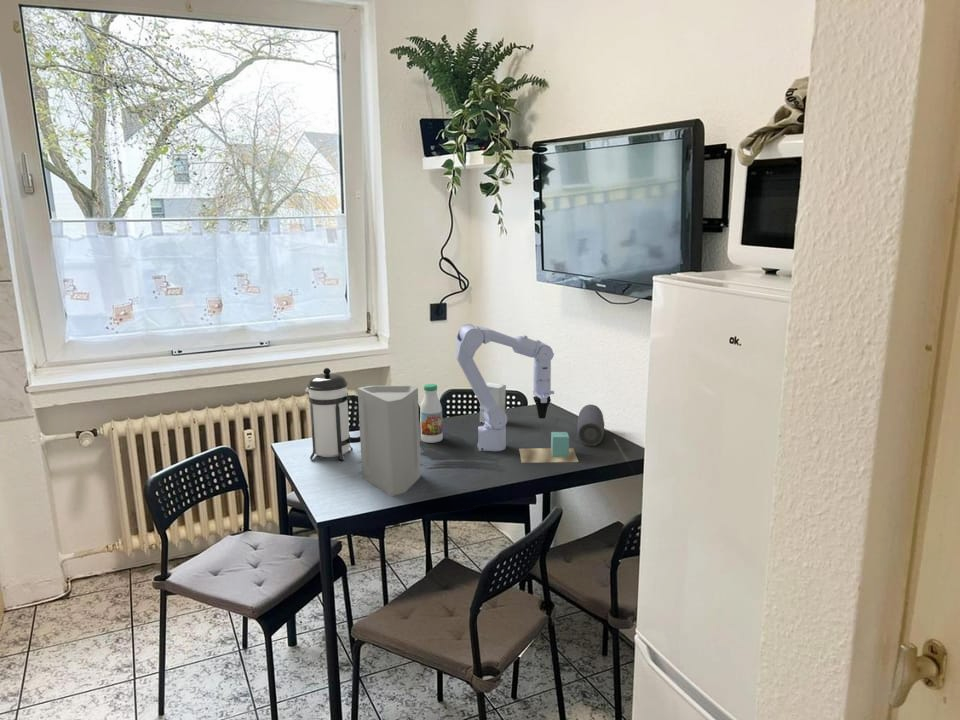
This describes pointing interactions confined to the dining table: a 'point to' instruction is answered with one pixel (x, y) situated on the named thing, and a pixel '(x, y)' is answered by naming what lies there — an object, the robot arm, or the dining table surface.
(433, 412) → the milk bottle
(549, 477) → the dining table surface
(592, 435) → the bluetooth speaker
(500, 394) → the skincare box
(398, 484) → the hollow triangular prism
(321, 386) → the coffee press
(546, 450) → the base board
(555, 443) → the teal foam brick
